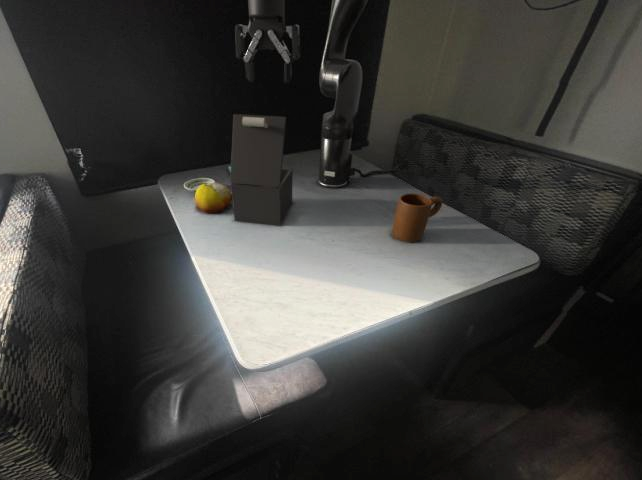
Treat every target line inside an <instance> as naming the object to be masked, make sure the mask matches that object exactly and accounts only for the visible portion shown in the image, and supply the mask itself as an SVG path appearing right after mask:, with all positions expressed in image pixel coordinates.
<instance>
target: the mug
mask: <svg viewBox="0 0 642 480" xmlns="http://www.w3.org/2000/svg"><path fill="white" fill-rule="evenodd" d="M442 207H443V199H442V198H441V197H440V196H432V197H428V196H426V195H423V194H421V193H420V194H419V193H405V194H402V195H400V197H399V198H398V202H397V205H396V210H395V214H394V217H393V218H394V219H393V223H392V228H391V234H392V236H393V238H395V239H396V240H398V241H401V242H404V243H415V242H419V241H421V240H422V238H423V236H424V234H425V231H426V227H427V224H428V221H429V218H431V217H434V216H435V215H436V214H437V213H439V211H440V210H441V208H442Z"/></svg>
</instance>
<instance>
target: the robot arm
mask: <svg viewBox="0 0 642 480" xmlns="http://www.w3.org/2000/svg"><path fill="white" fill-rule="evenodd" d="M285 1H286V0H247V4H248V25H243V24H240V23H238V24H236V25H235V26H234V33H235V35H234V37H235V57H236V58H237V59H238V60H242V61H243V62H244V67H245V78H246V80H248V83H254V82H255V69H254V62H253V59H254V57H255V55H256V53H257V52H258V50H260V51H265V50H269V51H276V50H277V52H278V54H280V56H281V57H282V59H283V61H284V62H285V63H284V64H283V83H284V84H289V83H290V81H291V80H292V77H293V63H294V61H297V60H299V59H300V58H301V33H300V25H299V24H293V25H287V24H286V20H285V19H286V17H285V15H286V13H285V12H286V10H285V8H286V7H285V6H286V5H285V3H286V2H285ZM368 1H369V0H332V1H331V8H330V14H329V22H328V27H327V32H326V39H325V43H324V47H323V48H324V49H323V53H322V59H321V61H320V68H319V76H318V85H319V90H320V92H321V94H322V96H325V97H328V98H331V99H335V101H334V107H333V109H332V110H331V111H327V112H324V114H323V115H322V120H321V136H320V153H319V167H318V168H319V169H318V178H317V179H318V180H317V181H318V182H317V183H318V184H319V185H320V186H322V187H325V188H332V189H336V188H337V189H339V188H342V187H345V186H347V184H350V179H351V177H352V176H355V175H356V174H355V173H356V172H357V173H358V174H359V176H360V177H368V176H370V175H372V174H389V173H394V172H395V171H397V170H398V169H399V170H403V167H402V166H401V165H397V166H395V167H394V168H393V169H389V170H388V169H387V170H385V169H384V170H383V169H378V170H377V169H376V170H371V171H369V172H366V173H362V171H361V170H360V169H358V168H356V167H355V166H353V165H352V161H353V152H352V151H351V149H352V140H353V131H354V123H355V119H356V117H357V114H358V111H359V104H360V98H361V93H362V86H363V68H362V66H361V64H360V62H359V61H357V60H354V59H347V58H346V52H347V47H348V42H349V39H350V36H351V33H352V31H353V29H354V28H355V25H356V24H357V22H358V20H359V18H360V16H361V15H362V13H363V11H364V9H365V7H366V6H367V4H368ZM286 34H288V37H289V38H290V39H291V47H292V54H291V53H290V51H289V49H288V47H287V45H286V44H285V41H284V40H283V39H284V38H285V36H286ZM247 35H249V36H250V38H251V42H250V44H249V46H248V48H247V51H246V50H245V38H246V37H247ZM245 51H246V52H245Z"/></svg>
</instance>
